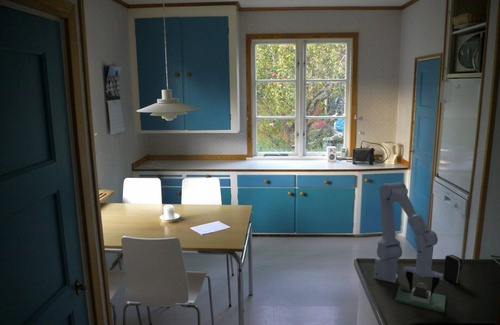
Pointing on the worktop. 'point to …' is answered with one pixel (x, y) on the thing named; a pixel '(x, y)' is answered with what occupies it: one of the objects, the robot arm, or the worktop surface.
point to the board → (421, 299)
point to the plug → (421, 290)
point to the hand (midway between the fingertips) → (421, 291)
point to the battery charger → (452, 268)
